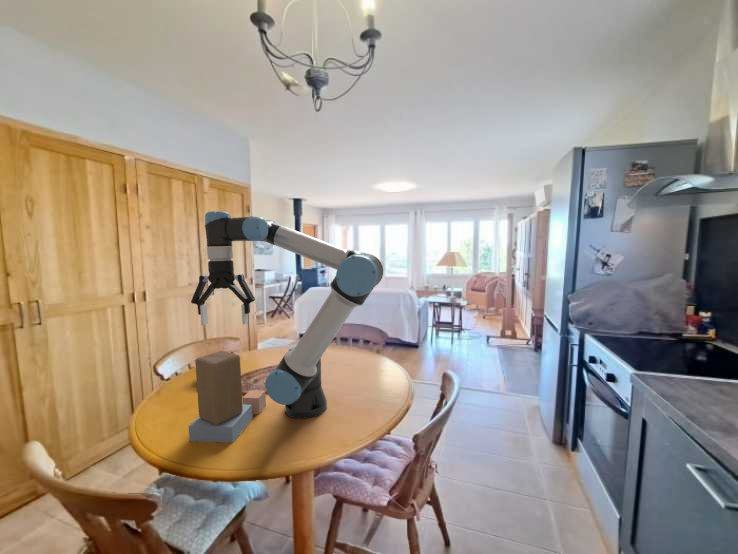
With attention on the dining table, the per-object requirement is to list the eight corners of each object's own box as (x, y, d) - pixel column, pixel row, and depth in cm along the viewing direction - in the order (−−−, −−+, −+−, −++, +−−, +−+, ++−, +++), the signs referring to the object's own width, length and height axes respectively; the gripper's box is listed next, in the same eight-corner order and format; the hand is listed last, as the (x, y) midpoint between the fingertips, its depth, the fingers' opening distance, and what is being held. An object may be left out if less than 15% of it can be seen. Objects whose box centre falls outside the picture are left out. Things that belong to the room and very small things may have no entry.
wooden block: (225, 405, 112) (222, 349, 110) (244, 412, 107) (241, 354, 105) (197, 418, 104) (193, 358, 102) (216, 427, 99) (212, 364, 97)
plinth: (252, 418, 113) (251, 404, 113) (232, 442, 99) (232, 427, 99) (214, 417, 114) (213, 403, 114) (189, 441, 100) (188, 425, 100)
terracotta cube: (266, 405, 122) (265, 390, 121) (259, 414, 116) (258, 398, 115) (250, 405, 122) (249, 390, 122) (243, 413, 116) (242, 397, 116)
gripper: (262, 258, 109) (266, 320, 111) (189, 260, 109) (194, 321, 111) (254, 259, 101) (258, 325, 103) (175, 261, 102) (181, 327, 104)
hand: (225, 324), depth 107 cm, fingers open, 13 cm apart
